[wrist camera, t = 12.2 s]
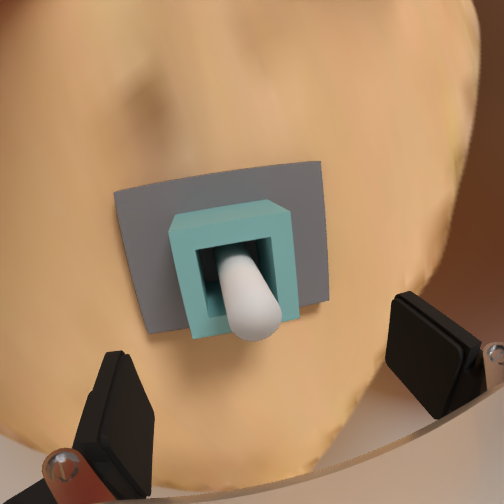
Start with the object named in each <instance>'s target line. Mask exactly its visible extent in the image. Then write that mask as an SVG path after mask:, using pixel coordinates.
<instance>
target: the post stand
mask: <svg viewBox="0 0 504 504" xmlns="http://www.w3.org/2000/svg"><path fill="white" fill-rule="evenodd" d="M114 199H115V204H116V209H117V215H118V220H119V224H120V229H121V234H122V239H123V243H124V247H125V252H126V256H127V260H128V264H129V268H130V272H131V276H132V280H133V284H134V288H135V291H136V295H137V299H138V302H139V306H140V309H141V312H142V316H143V319H144V323H145V326H146V329H147V332H148V334H152V333H159V332H166V331H172V330H179V329H185V328H190V326H189V323H188V319H187V315H186V311H185V306H184V302H183V298H182V294H181V290H180V285H179V281H178V276H177V272H176V267H175V263H174V258H173V253H172V248H171V244H170V239H169V234H168V231H169V229H170V226H171V224H172V221H173V219H174V216H175V215H176V214H182V213H187V212H193V211H198V210H204V209H210V208H216V207H222V206H228V205H234V204H240V203H247V202H253V201H260V200H266V199H268V200H270V201H272V202H273V203H275V204H277V205H279V206H281V207H283V208H285V209H287V210H289V211H290V214H291V223H292V233H293V243H294V254H295V265H296V276H297V288H298V301H299V307H302V306H306V305H311V304H315V303H320V302H324V301H329V273H328V251H327V233H326V218H325V205H324V193H323V181H322V171H321V161H309V162H298V163H289V164H279V165H270V166H262V167H254V168H246V169H239V170H232V171H225V172H218V173H211V174H205V175H199V176H193V177H187V178H181V179H175V180H170V181H164V182H159V183H154V184H149V185H144V186H139V187H134V188H129V189H124V190H120V191H116V192H114ZM199 252H200V257H201V262H202V267H203V273H204V278H205V283H206V282H211V281H217V280H220V285H221V290H222V294H223V299H224V304H225V308H226V313H227V317H228V322H229V326H230V328H231V330H232V332H233V333H234V334H235V335H236V336H237V337H239V338H241V339H243V340H246V341H259V340H263V339H265V338H267V337H269V336H270V335H272V334H273V333H274V332H275V331H276V330H277V328H278V327H279V325H280V322H281V318H282V312H281V308H280V306H279V304H278V302H277V301H276V299H275V297H274V296H273V294H272V292H271V290H270V289H269V287H268V285H267V284H266V282H265V280H264V278H263V277H262V275H261V273H260V269H259V261H258V254H257V246H256V239H255V240H249V241H243V242H238V243H232V244H226V245H220V246H215V247H209V248H203V249H199Z"/></svg>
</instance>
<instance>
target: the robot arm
mask: <svg viewBox="0 0 504 504" xmlns="http://www.w3.org/2000/svg"><path fill="white" fill-rule="evenodd" d="M481 343H482V342H481V341H479V340H478V339H477V338H476V337H474V336H473V335H472V334H470V333H469V332H468V331H466V330H465V329H464V328H462V327H461V326H459V325H458V324H457V323H455V322H454V321H453V320H451V319H450V318H448V317H447V316H446V315H444V314H443V313H441V312H440V311H438V310H437V309H435V308H434V307H433V306H431V305H430V304H428V303H427V302H426V301H424V300H423V299H421V298H420V297H419V296H417V295H416V294H414V293H413V292H411V291H407V292H404V293H400V294H397V295H396V296H395V298H394V300H392V303H391V312H390V323H389V332H388V340H387V348H386V355H385V360H386V363H387V365H388V367H389V368H390V369H391V370H392V371H393V372H394V373H395V375H396V376H397V377H398V378H399V379H400V380H401V381H402V383H403V384H404V385H405V386H406V387H407V388H408V389H409V390H410V392H411V393H412V394H413V395H414V396H415V397H416V399H417V400H418V401H419V402H420V403H421V404H422V406H423V407H424V408H425V409H426V410H427V411H428V413H429V414H430V415H431V416H432V417H433V418H434V419H438V420H437V421H435V422H434V423H432V424H430V425H428V426H426V427H424V428H422V429H420V430H418V431H416V432H414V433H412V434H410V435H408V436H406V437H404V438H401V439H399V440H397V441H395V442H393V443H390V444H388V445H386V446H383V447H381V448H379V449H376V450H374V451H371V452H369V453H367V454H364V455H361V456H359V457H356V458H353V459H350V460H348V461H345V462H342V463H339V464H336V465H333V466H330V467H327V468H324V469H321V470H318V471H314V472H311V473H307V474H304V475H300V476H296V477H292V478H289V479H285V480H281V481H276V482H272V483H267V484H263V485H258V486H253V487H248V488H242V489H236V490H230V491H224V492H216V493H208V494H200V495H192V496H181V497H168V498H151V499H146V496H150V495H151V480H152V455H153V437H154V422H155V416H154V411H153V409H152V406H151V404H150V402H149V400H148V398H147V395H146V393H145V391H144V388H143V386H142V384H141V381H140V379H139V377H138V374H137V372H136V369H135V367H134V364H133V362H132V359H131V357H130V355H129V354H125V353H124V352H123V351H122V350H121V351H113V352H106V354H105V356H104V359H103V362H102V364H101V367H100V370H99V373H98V376H97V379H96V381H95V384H94V387H93V390H92V391H91V392H90V393H89V395H88V397H87V401H86V404H85V407H84V410H83V413H82V416H81V419H80V422H79V426H78V429H77V432H76V436H75V439H74V443H73V446H72V448H61V449H58V450H55V451H53V452H52V453H50V454H49V455H48V456H47V457H46V459H45V460H44V462H43V465H42V474H43V477H44V478H43V479H41V480H40V481H38V482H37V483H35V484H33V485H32V486H30V487H29V488H27V489H25V490H24V491H22V492H21V493H19V494H17V495H15V496H14V497H12V498H10V499H9V500H7V501H6V502H5V503H3V504H504V343H500V342H494V343H490V344H488V345H487V346H485V348H484V350H483V351H482V350H480V346H481Z"/></svg>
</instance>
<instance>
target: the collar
mask: <svg viewBox="0 0 504 504" xmlns="http://www.w3.org/2000/svg"><path fill="white" fill-rule="evenodd" d="M168 234H169V239H170V244H171V248H172V253H173V258H174V263H175V267H176V272H177V276H178V281H179V285H180V290H181V294H182V298H183V302H184V306H185V311H186V315H187V319H188V323H189V326H190V330H191V334H192V338H193V339H197V338H203V337H209V336H214V335H220V334H225V333H231V332H232V330H231V328H230V326H229V322H228V317H227V313H226V308H225V304H224V299H223V294H222V290H221V285H220V280H217V281H211V282H206V283H205V278H204V273H203V267H202V262H201V257H200V252H199V249H203V248H209V247H215V246H220V245H226V244H232V243H238V242H243V241H249V240H255V239H256V246H257V254H258V261H259V269H260V273H261V275H262V277H263V278H264V280H265V282H266V284H267V285H268V287H269V289H270V290H271V292H272V294H273V296H274V297H275V299H276V301H277V302H278V304H279V306H280V308H281V312H282V318H281V322H285V321H289V320H294V319H298V318H300V314H299V301H298V288H297V276H296V265H295V254H294V243H293V233H292V223H291V214H290V211H289V210H287V209H285V208H283V207H281V206H279V205H277V204H275V203H273V202H272V201H270V200H268V199H266V200H260V201H253V202H247V203H240V204H234V205H228V206H222V207H216V208H210V209H204V210H198V211H193V212H187V213H182V214H176V215H175V216H174V219H173V221H172V224H171V226H170V229H169V231H168Z"/></svg>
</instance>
